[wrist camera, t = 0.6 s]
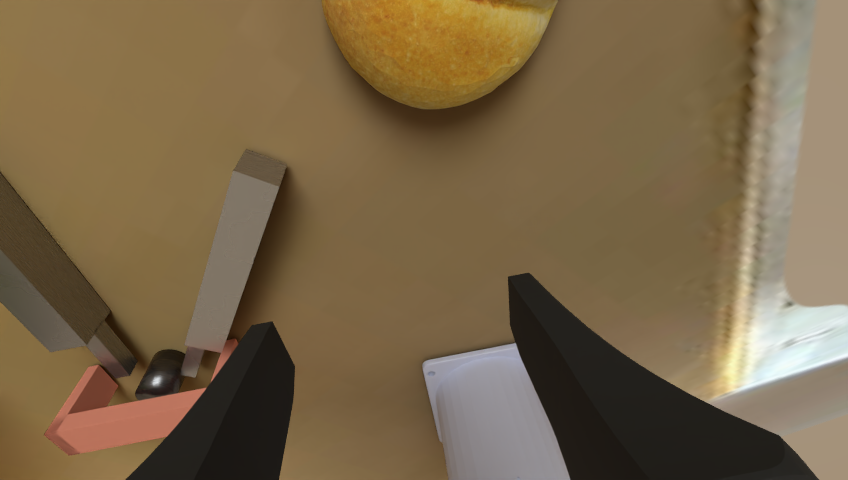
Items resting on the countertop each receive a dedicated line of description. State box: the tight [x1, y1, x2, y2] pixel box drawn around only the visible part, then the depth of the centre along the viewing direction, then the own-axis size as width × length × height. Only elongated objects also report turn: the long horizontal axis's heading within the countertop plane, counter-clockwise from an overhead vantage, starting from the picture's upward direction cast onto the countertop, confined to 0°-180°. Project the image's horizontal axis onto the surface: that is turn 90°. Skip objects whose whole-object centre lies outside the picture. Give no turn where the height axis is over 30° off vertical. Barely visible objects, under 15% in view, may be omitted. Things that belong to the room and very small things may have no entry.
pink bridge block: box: [44, 339, 238, 455], centre depth 23 cm, size 2×9×4 cm, turn 99°
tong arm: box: [180, 149, 287, 377], centre depth 21 cm, size 14×2×2 cm, turn 154°
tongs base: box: [0, 173, 185, 401], centre depth 20 cm, size 16×4×2 cm, turn 9°
